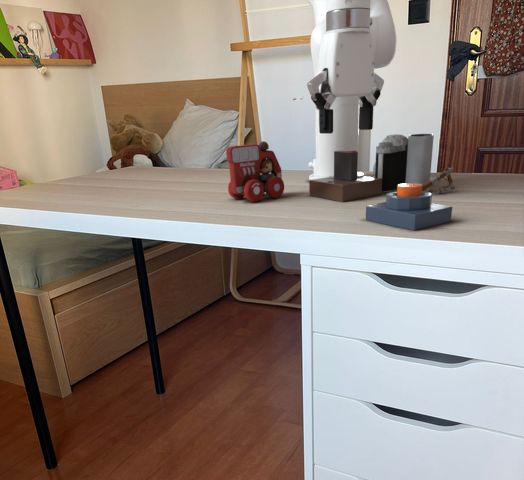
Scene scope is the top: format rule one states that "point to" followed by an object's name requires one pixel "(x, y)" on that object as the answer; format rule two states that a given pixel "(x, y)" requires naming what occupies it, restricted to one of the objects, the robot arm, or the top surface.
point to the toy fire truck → (254, 172)
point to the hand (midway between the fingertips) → (346, 131)
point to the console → (345, 188)
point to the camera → (391, 161)
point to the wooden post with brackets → (438, 178)
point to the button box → (409, 211)
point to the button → (409, 189)
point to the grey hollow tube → (419, 158)
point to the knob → (345, 165)
